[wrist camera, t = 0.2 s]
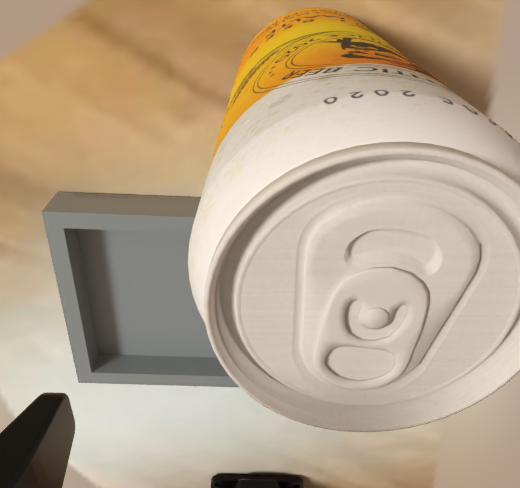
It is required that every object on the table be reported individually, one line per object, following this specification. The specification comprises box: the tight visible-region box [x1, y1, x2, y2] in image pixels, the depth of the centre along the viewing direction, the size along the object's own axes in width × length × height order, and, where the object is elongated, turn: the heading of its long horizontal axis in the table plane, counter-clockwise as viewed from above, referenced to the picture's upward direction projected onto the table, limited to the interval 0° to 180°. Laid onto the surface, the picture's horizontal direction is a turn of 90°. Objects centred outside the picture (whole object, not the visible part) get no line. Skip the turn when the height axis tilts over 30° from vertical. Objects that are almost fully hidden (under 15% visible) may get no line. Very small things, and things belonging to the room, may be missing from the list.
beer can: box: [188, 8, 520, 432], centre depth 14 cm, size 6×6×15 cm
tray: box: [42, 192, 239, 387], centre depth 25 cm, size 11×11×2 cm
